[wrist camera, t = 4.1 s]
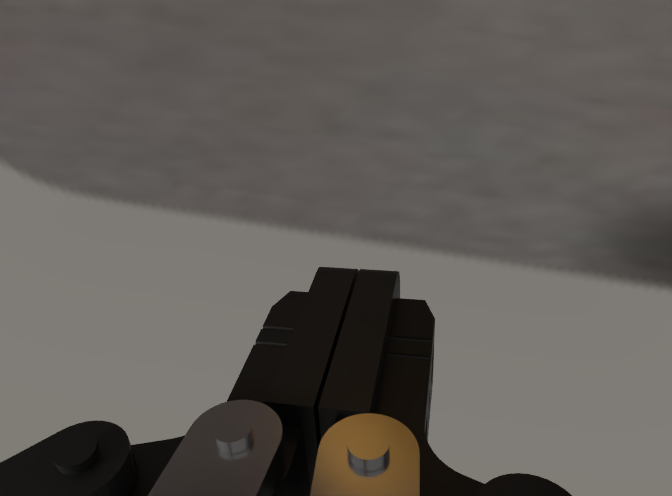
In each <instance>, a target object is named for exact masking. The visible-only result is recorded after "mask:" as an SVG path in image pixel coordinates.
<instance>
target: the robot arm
mask: <svg viewBox="0 0 672 496" xmlns="http://www.w3.org/2000/svg"><path fill="white" fill-rule="evenodd" d="M434 329H435V318H434V316H433V314H432V312H431V311H430V309H429V307H428V305H427V303H426V301H425V300H414V299H400V276H399V272H397V271H382V270H365V269H360V270H358V269H346V268H345V269H344V268H330V267H319V268H318V270H317V272H316V275H315V277H314V280H313V282H312V285H311V287H310V290H309V292H297V291H290V292H289V293H288V294H286V295H285V296H284V297H283V298H282V299H281V300H279V301H278V302H277V303H276V304H275V305H273V306H272V308H271V310H270V312H269V314H268V316H267V319H266V321H265V323H264V325H263V329H261V331H260V333H259V335H258V337H257V339H256V345H254V346H253V348H252V350H251V352H250V354H249V356H248V358H247V360H246V362H245V364H244V367H243V369H242V371H241V373H240V375H239V377H238V379H237V381H236V383H235V386H234V388H233V390H232V392H231V394H230V396H229V398H228V400H227V402H225V403H221V404H219V405H217V406H214V407H212V408H211V409H209V410H207V411H206V412H204V413H203V414H202V415H200V416H199V418H197V419H196V421H195V422H194V423H193V424H192V426H191V427H190V429H189V430H188V432H187V433H186V435H185V436H182V437H178V438H174V439H168V440H162V441H155V442H149V443H143V444H136V445H130V442H129V439H128V436H127V434H126V433H125V431H124V430H123V429H122V428H121V427H119V426H118V425H116V424H113V423H111V422H106V421H88V422H83V423H79V424H76V425H73V426H70V427H68V428H66V429H63V430H61V431H59V432H57V433H56V434H54V435H52V436H50V437H48V438H46V439H44V440H42V441H41V442H39V443H37V444H35V445H33V446H31V447H29V448H28V449H26V450H24V451H22V452H20V453H18V454H16V455H14V456H12V457H11V458H9V459H7V460H5V461H3V462H1V463H0V496H572V495H571V494H569V493H568V492H567V491H566V490H565V489H563V488H561V487H560V486H559V485H557V484H555V483H553V482H551V481H549V480H547V479H544V478H541V477H539V476H534V475H530V474H520V473H516V474H507V475H502V476H499V477H496V478H494V479H492V480H490V481H489V482H487V483H486V484H483V483H481V482H478V481H476V480H474V479H471V478H469V477H467V476H464V475H462V474H460V473H458V472H456V471H454V470H453V469H451V468H450V467H448V466H447V465H445V464H444V463H443V462H442V461H441V460H440V459H439V458H438V457H437V456H436V455H435V454H434V452H433V451H432V449H431V447H430V446H429V444H428V429H429V418H430V406H431V395H432V383H433V359H434Z"/></svg>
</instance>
